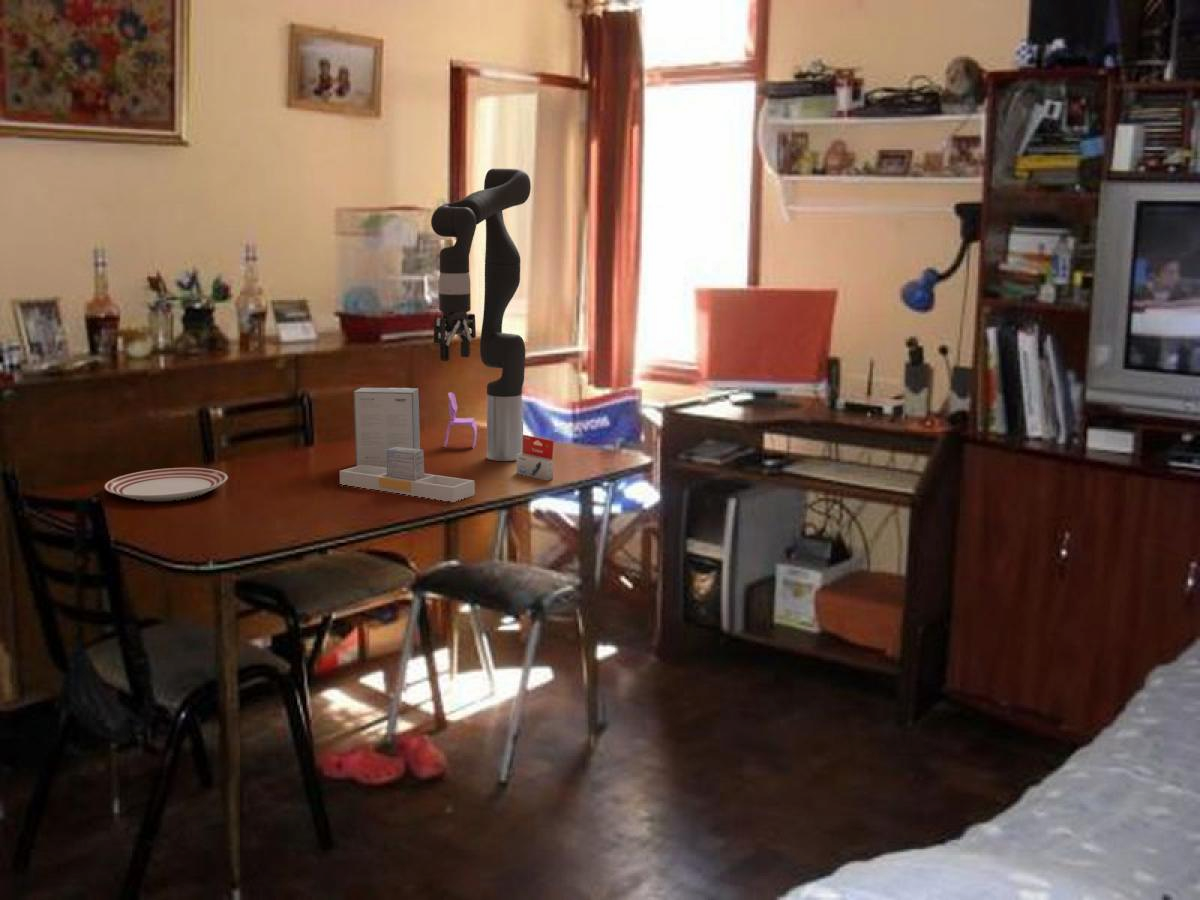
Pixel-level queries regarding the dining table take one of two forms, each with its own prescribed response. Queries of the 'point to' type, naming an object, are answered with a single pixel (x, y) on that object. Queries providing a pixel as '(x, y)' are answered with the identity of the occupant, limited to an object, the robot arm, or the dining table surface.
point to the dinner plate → (166, 484)
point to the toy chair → (458, 419)
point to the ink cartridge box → (536, 458)
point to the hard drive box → (385, 423)
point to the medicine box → (405, 463)
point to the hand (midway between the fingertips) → (455, 358)
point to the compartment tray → (408, 483)
